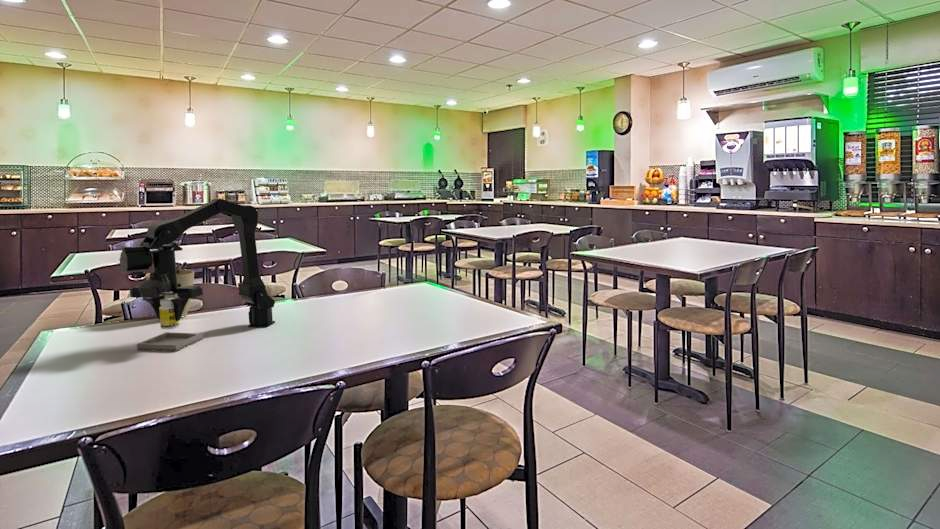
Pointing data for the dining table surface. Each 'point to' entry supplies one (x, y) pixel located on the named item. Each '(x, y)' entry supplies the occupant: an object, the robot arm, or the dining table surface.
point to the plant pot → (185, 279)
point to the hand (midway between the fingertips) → (169, 320)
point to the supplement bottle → (167, 314)
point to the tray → (170, 341)
